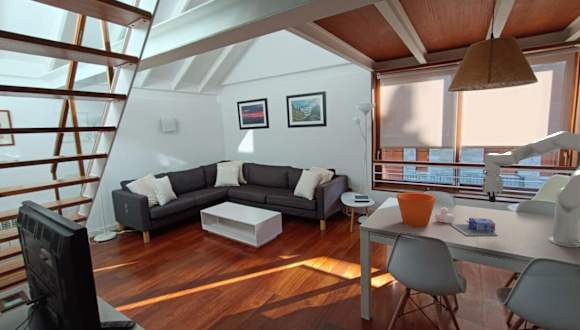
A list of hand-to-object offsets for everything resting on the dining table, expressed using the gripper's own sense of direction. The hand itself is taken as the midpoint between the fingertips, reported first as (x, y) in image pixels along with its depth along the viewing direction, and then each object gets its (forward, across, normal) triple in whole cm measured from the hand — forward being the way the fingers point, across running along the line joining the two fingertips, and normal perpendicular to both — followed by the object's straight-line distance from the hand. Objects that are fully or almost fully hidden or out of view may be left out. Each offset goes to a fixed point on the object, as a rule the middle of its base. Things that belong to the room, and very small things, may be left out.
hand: (492, 201), depth 173 cm
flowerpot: (+18, -42, +15) cm, 48 cm away
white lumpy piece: (+18, -21, +18) cm, 33 cm away
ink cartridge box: (+15, +1, +1) cm, 15 cm away
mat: (+18, -12, +1) cm, 22 cm away
